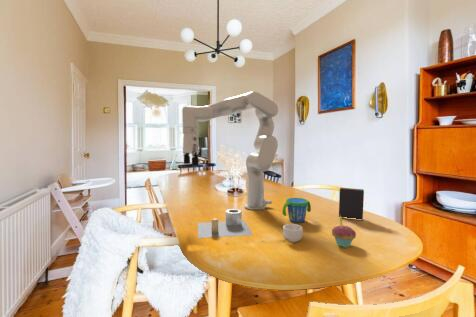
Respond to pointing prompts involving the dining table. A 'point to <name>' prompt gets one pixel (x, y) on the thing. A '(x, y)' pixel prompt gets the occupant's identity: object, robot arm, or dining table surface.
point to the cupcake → (343, 234)
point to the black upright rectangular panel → (351, 203)
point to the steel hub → (233, 217)
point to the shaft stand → (221, 229)
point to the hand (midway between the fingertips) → (190, 164)
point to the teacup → (292, 232)
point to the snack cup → (296, 209)
